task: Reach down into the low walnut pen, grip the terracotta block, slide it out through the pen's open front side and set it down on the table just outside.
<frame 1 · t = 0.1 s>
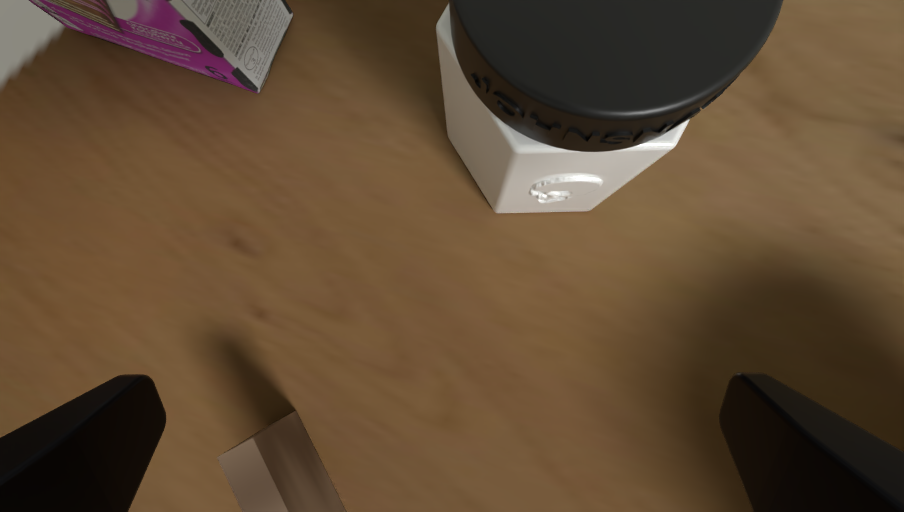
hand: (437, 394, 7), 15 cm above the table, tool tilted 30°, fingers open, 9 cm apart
jar: (538, 135, 23), on the table
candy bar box: (184, 27, 24), on the table
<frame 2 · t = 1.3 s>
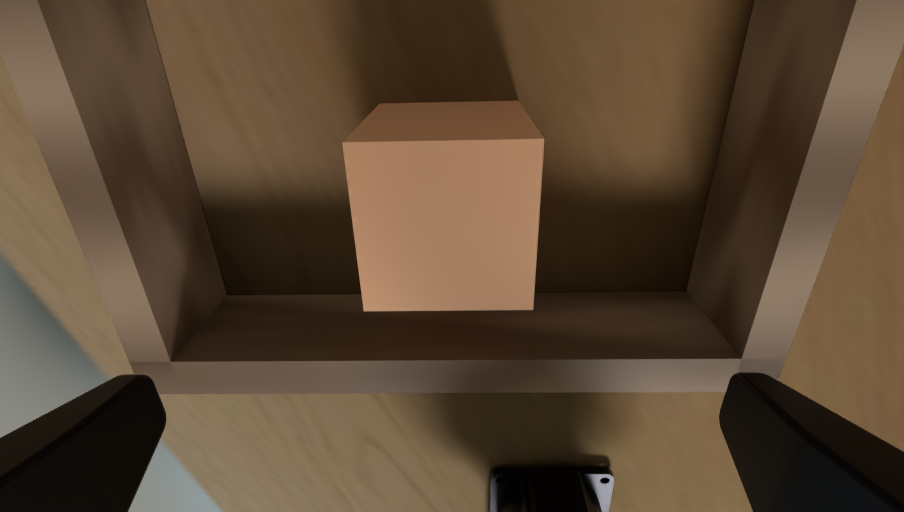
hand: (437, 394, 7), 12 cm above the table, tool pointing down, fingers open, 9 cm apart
terracotta block: (450, 169, 18), on the table
walnut pen: (449, 130, 17), on the table
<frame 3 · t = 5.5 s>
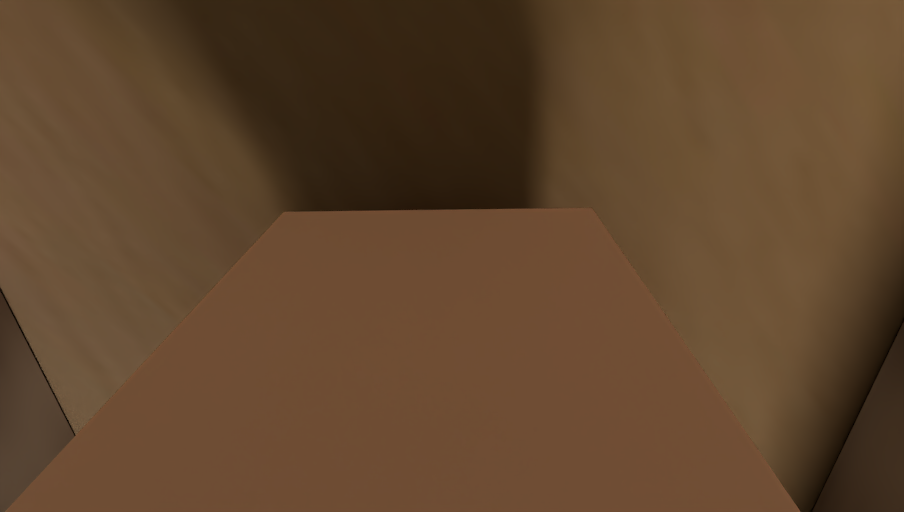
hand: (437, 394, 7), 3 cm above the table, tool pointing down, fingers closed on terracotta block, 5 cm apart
terracotta block: (441, 335, 9), point 2 cm above the table, touching gripper
walnut pen: (452, 470, 13), on the table
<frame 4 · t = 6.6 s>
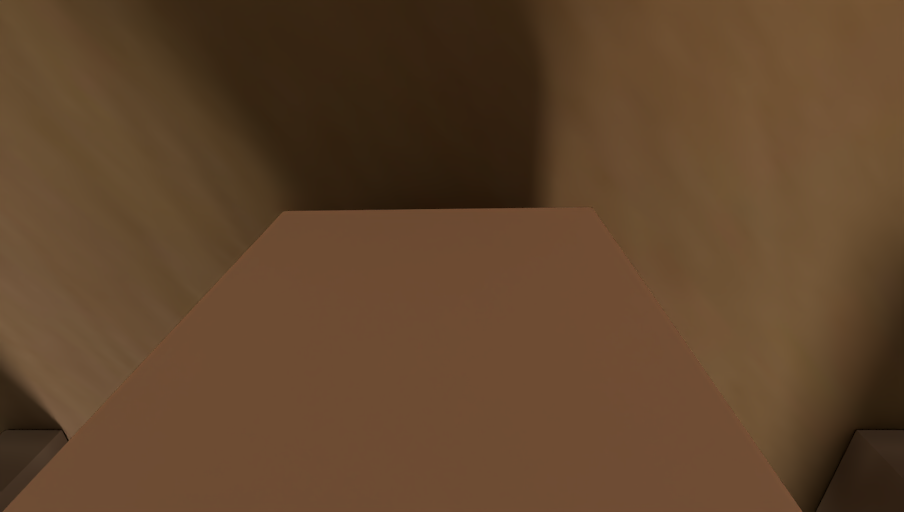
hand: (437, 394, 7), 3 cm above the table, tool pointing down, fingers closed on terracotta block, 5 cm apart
terracotta block: (441, 335, 9), point 1 cm above the table, touching gripper
when the fingers open (2 cm above the table, at t = 7.7 s): terracotta block stays where it is, on the table.
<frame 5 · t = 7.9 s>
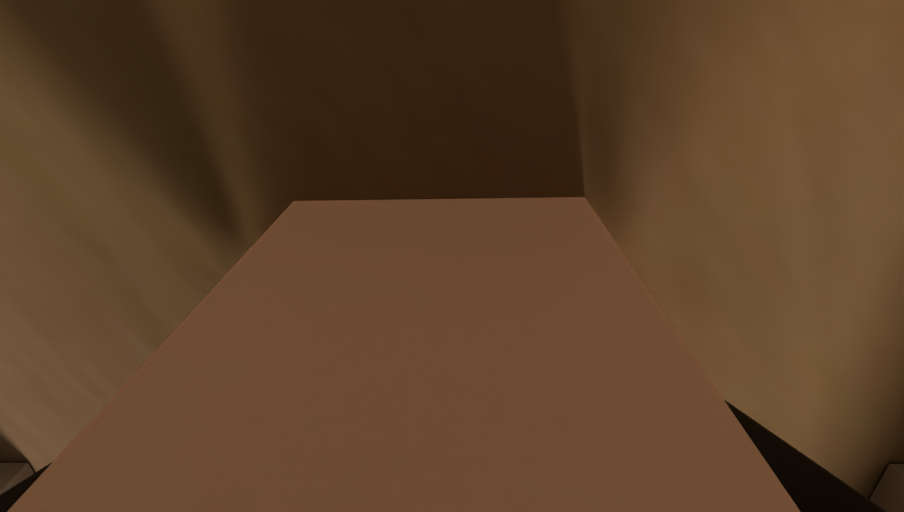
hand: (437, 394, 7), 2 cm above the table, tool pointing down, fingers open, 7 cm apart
terracotta block: (442, 318, 9), on the table
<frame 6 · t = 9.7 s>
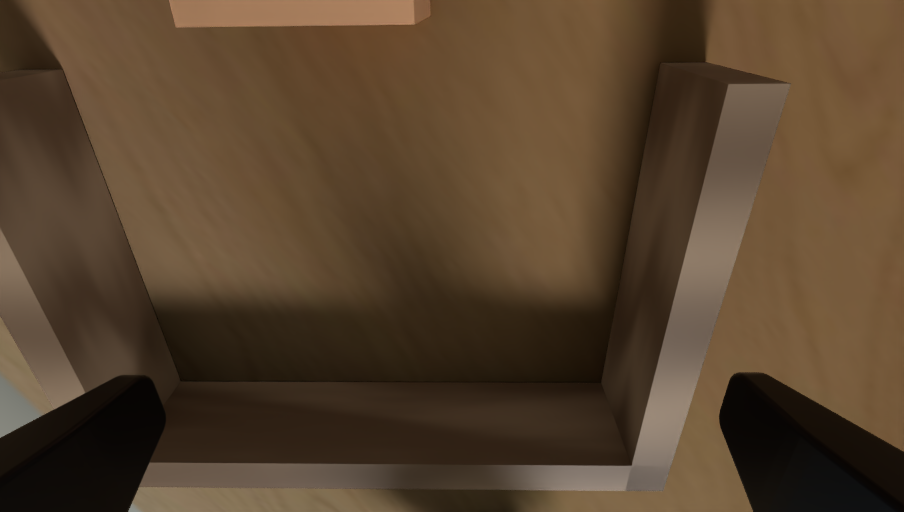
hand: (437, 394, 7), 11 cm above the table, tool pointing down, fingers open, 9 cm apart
walnut pen: (375, 251, 19), on the table
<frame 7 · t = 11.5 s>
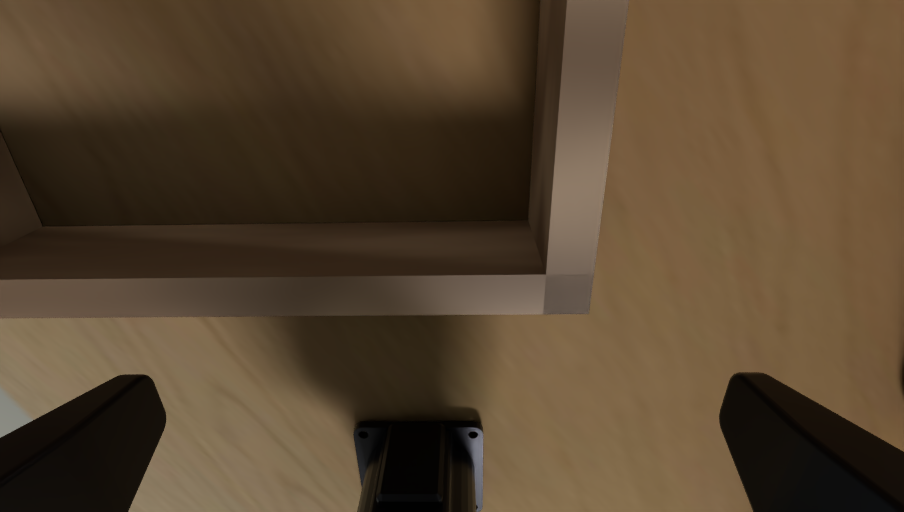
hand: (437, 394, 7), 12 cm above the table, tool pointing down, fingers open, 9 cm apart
walnut pen: (244, 33, 16), on the table
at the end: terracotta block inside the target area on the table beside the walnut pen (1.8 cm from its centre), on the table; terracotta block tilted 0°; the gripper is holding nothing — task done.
